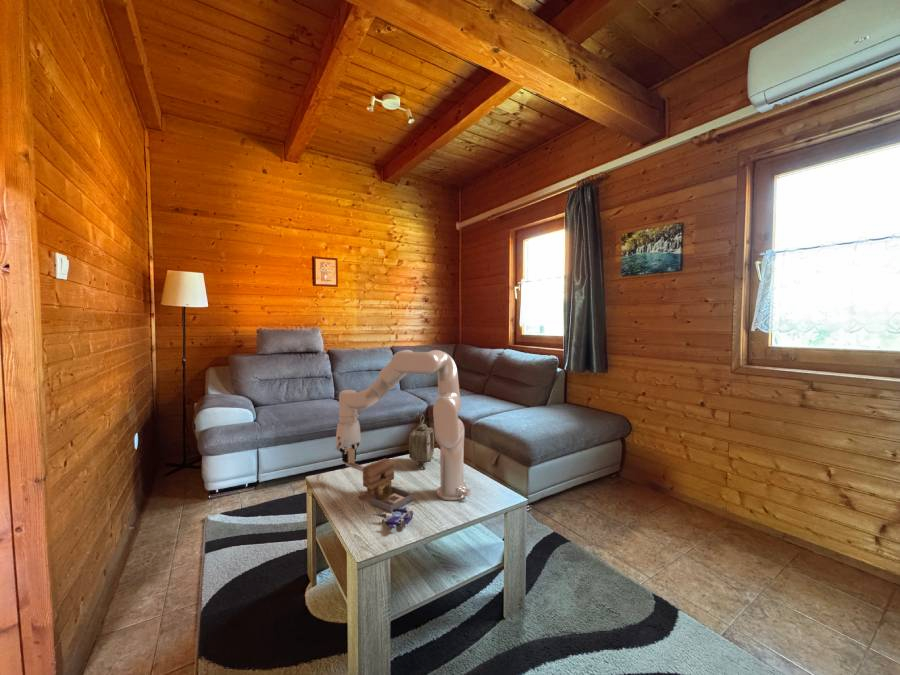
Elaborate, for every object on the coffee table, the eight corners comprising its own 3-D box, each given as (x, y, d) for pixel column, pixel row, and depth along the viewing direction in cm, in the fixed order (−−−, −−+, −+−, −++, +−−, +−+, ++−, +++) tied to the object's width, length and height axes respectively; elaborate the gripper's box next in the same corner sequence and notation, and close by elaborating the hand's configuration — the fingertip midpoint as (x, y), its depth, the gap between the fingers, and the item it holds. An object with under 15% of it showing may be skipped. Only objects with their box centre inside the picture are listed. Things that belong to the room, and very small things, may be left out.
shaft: (383, 476, 148) (383, 458, 148) (377, 479, 145) (377, 461, 145) (350, 464, 161) (350, 447, 161) (344, 466, 158) (343, 449, 158)
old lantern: (426, 471, 172) (426, 419, 171) (408, 469, 174) (408, 418, 173) (434, 460, 186) (433, 411, 185) (417, 458, 188) (416, 410, 187)
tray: (413, 500, 144) (413, 494, 144) (390, 513, 135) (390, 506, 135) (392, 492, 152) (392, 486, 151) (369, 503, 142) (369, 497, 142)
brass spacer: (391, 495, 148) (391, 480, 147) (380, 500, 143) (380, 486, 143) (389, 494, 149) (389, 479, 148) (377, 499, 144) (377, 484, 143)
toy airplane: (368, 521, 130) (368, 511, 130) (404, 510, 137) (404, 501, 137) (381, 540, 119) (381, 529, 119) (419, 527, 126) (419, 517, 126)
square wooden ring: (394, 496, 146) (405, 501, 143) (383, 502, 142) (393, 507, 138) (394, 493, 146) (405, 497, 143) (383, 499, 142) (393, 503, 138)
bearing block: (394, 492, 151) (393, 460, 150) (371, 504, 141) (371, 470, 141) (380, 487, 156) (379, 456, 155) (357, 498, 146) (357, 465, 146)
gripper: (358, 413, 167) (359, 453, 167) (326, 421, 153) (327, 464, 154) (369, 416, 162) (369, 456, 163) (337, 424, 149) (338, 468, 150)
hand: (349, 460), depth 158 cm, fingers closed on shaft, 3 cm apart
